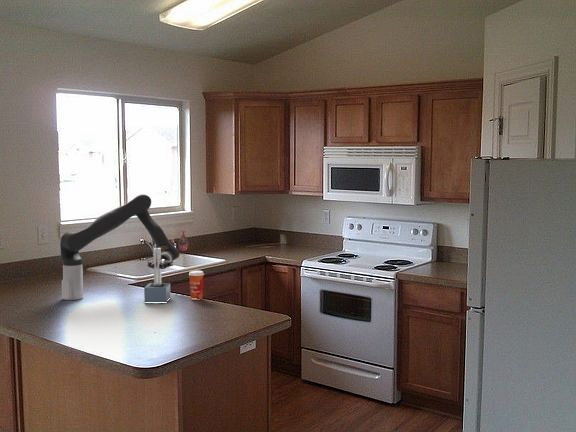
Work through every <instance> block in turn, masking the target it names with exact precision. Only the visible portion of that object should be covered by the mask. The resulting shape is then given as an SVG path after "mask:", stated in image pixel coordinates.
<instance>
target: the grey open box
mask: <svg viewBox="0 0 576 432" xmlns="http://www.w3.org/2000/svg"><path fill="white" fill-rule="evenodd" d="M153 284H154V282H149V283H148V284H146V285H145V286H144V289H143V293H144V295H143V297H144V298H143V299H144V302H167V300H168V299H169V298H170V299H171V283H170V282H169V283H168V282H166V283H164V282H163V283H162V282H161V284H163V287H152V285H153ZM144 302H143V303H144Z"/></svg>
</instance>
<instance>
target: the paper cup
mask: <svg viewBox="0 0 576 432" xmlns="http://www.w3.org/2000/svg"><path fill="white" fill-rule="evenodd" d="M188 275H189V277H188V278H189V292H190V299H191V298H197V299H202V300H203V289H204V287H203V286H204V275H205V273H204V271H203V270H191V271H189V273H188Z"/></svg>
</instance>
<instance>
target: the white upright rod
mask: <svg viewBox="0 0 576 432" xmlns="http://www.w3.org/2000/svg"><path fill="white" fill-rule="evenodd" d="M161 249H162V247H160V248H158V247H154V248H153V250H152V251H153V253H152V254H153V261H154V269H153V283H154V284H153V285H152V287H163V284H161V283H162V269H159V264H160V263H161V252H162V250H161Z"/></svg>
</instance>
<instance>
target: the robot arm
mask: <svg viewBox="0 0 576 432" xmlns="http://www.w3.org/2000/svg"><path fill="white" fill-rule="evenodd" d="M151 206H152V199H151V197H150V196H149V195H147V194H144V193H142V194H138V195H137V196H135V197H134V198H132V199H131V200H130V201H128V202H126V203H125V204H123V205H121V206H118V207H116V208H114V209H111V210H109V211H108V212H105V213H104V214H102V215H100V216H98V217H97V218H96V219H95V220H94V221H93V222H92V223H91V224H90V225H89V226H88V227H86V228H84V229H83V230H79V231H78V232H73V231H67V232H65V233H63V235H62V236H61V237H60V241H59V242H60V243H59V245H60V247H59V248H60V258H61V261H62V278H63V279H62V280H61V299H62V300H65V301H77V300H81V299H83V298H84V278H83V271H84V270H83V257H81V255H80V251H81V250H82V249H84V248H85V247H86V246H89V244H91V243H92V242H93V241H96V240H97V239H99V238H101V237H103V236H104V235H106V234H109V233H110V232H112V231H115V229H118V227H120V226H122V225H123V224H124V223H126V222H127V221H128V220H129V219H131V218H132V217H134V216H136V217H137V218H138V219H139V221H140V222H141V223H142V225H143V226H144V228H145V229H146V230H147V232H148V234H149V236H150V237H151V239H152V240H153V243H154V244H155V246H156V248H157V249H158V248H163V247H166V249H164V250H163V251H161V263H160V264H159V269H161V270H164V269H167V268H170V267H174V260H177V259H179V258H180V251H179V250H178V248H177V247H176V246H174V244H173V243H172V242H171V241H170V240H169V238H168V237H167V236H166V233H165V231H164V229H162V227H161V226H160V225H159V224H158V223H157V222H156V221H155V220H154V219H153V217H152V216H151V214H150V213H149V211H148V210H149V209H150V208H151ZM146 266H147V267H148V268H151V269H153V270H154V260H152V261H151V260H146Z"/></svg>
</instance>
